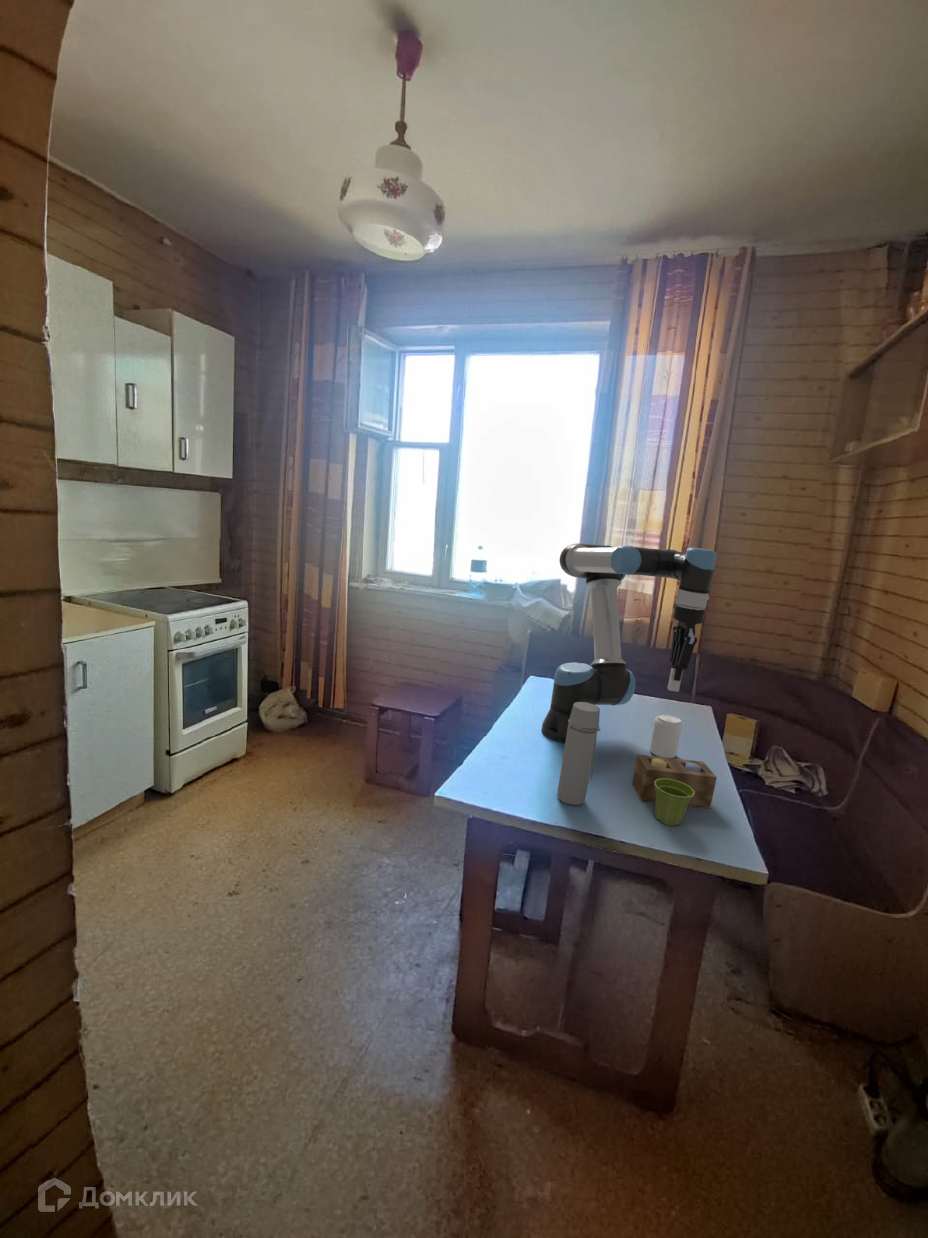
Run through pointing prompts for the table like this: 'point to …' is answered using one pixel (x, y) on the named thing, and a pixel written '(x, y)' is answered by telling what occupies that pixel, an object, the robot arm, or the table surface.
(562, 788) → the water bottle
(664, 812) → the plant pot
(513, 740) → the table surface
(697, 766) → the blue peg
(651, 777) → the walnut block
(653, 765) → the ochre peg
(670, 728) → the beverage can
